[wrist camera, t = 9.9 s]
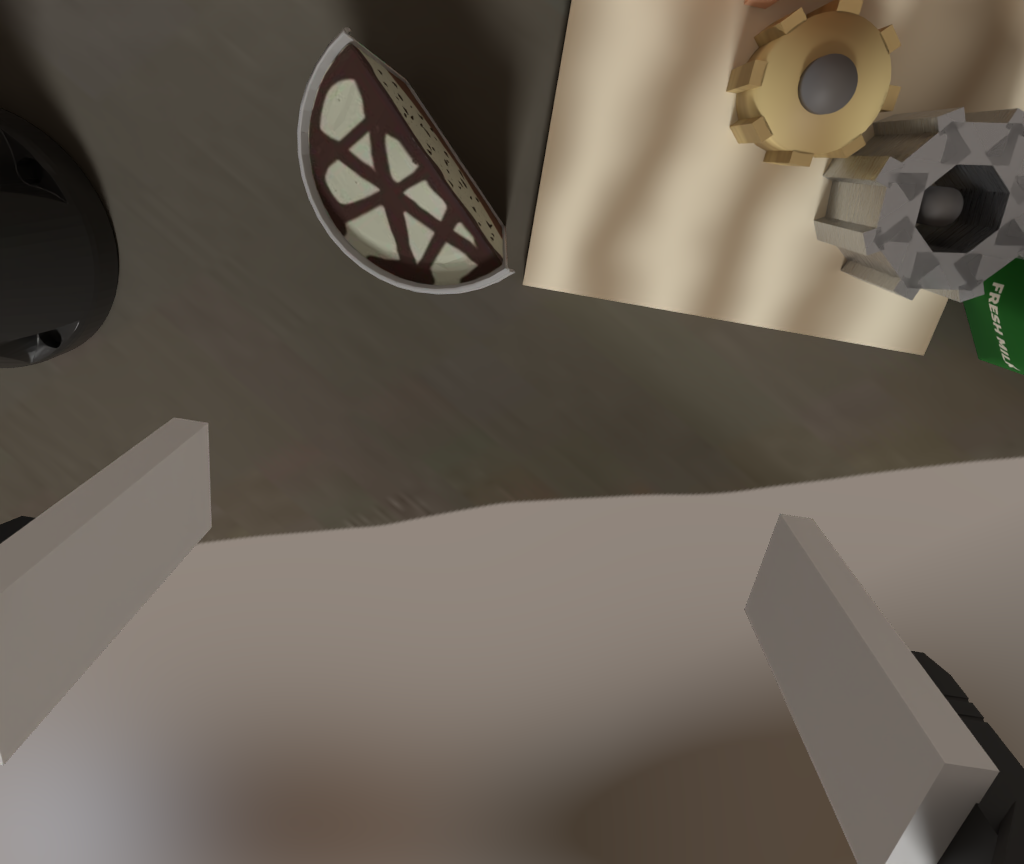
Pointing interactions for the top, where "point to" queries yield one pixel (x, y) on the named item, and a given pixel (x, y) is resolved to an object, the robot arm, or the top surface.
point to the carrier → (749, 151)
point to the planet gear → (760, 3)
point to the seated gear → (898, 194)
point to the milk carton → (1000, 318)
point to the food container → (392, 179)
